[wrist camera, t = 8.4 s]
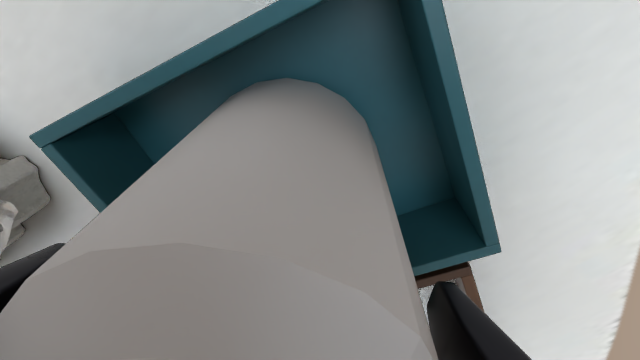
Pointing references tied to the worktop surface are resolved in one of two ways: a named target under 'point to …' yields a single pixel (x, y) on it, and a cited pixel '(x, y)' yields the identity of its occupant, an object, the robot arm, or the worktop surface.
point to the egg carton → (18, 197)
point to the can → (237, 249)
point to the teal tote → (332, 73)
